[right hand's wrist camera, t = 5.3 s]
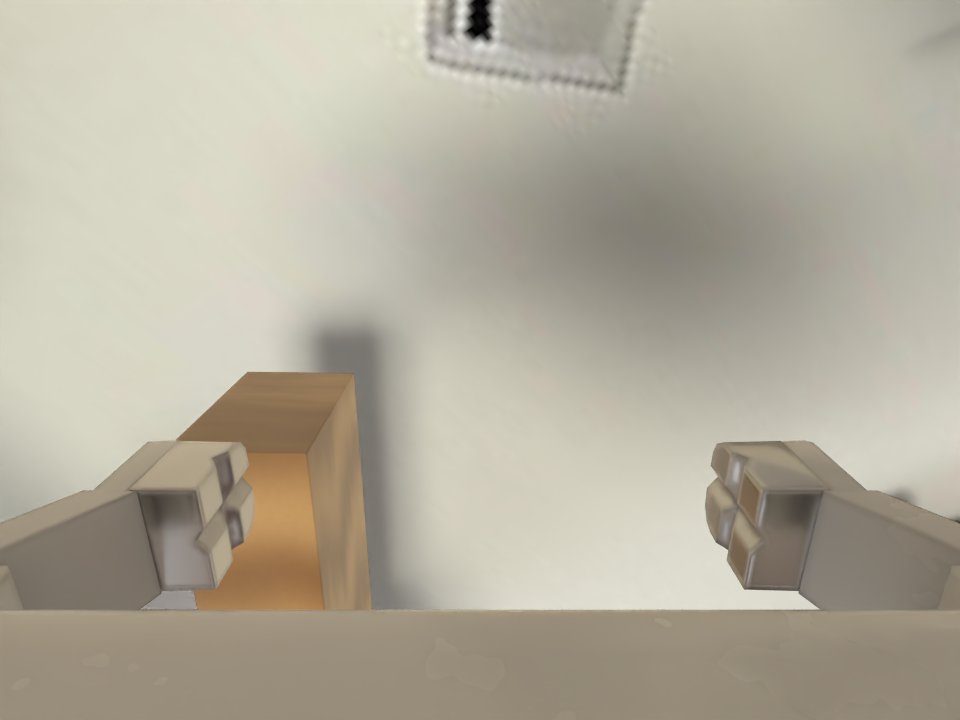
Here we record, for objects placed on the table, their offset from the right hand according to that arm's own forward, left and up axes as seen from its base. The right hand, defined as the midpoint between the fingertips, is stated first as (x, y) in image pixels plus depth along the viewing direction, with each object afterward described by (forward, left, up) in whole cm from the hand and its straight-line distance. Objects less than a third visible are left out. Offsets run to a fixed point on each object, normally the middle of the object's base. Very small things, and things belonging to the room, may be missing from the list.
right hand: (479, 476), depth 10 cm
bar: (+18, +12, -20) cm, 30 cm away
